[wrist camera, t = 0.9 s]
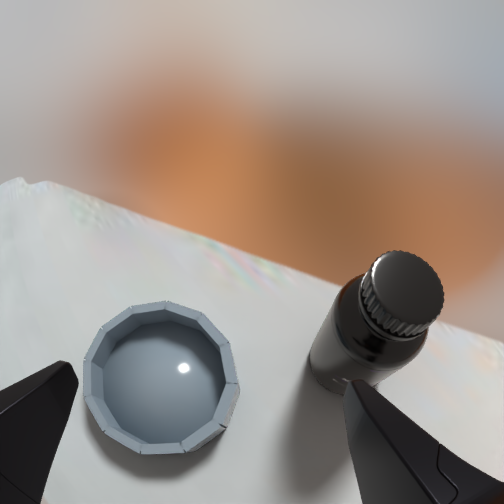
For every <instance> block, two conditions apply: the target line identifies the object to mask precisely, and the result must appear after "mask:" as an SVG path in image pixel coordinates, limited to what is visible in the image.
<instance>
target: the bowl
mask: <svg viewBox="0 0 504 504" xmlns="http://www.w3.org/2000/svg"><path fill="white" fill-rule="evenodd" d="M102 328H103V329H102ZM102 328H100V329H99V331H98V333H97V335H96V337H95V339H94V340H93V342H92V344H91V346H90V348H89V350H88V352H87V354H86V356H85V358H84V359H85V360H84V361H83V396H84V397H85V398H84V399H85V401H86V403H87V405H88V407H89V409H90V411H91V412H92V414H93V416H94V418H95V420H96V421H97V423H98V425H99V427H100V428H101V430H102V432H104V433H105V434H106V435H108V436H109V437H111V438H113V439H114V440H116V441H118V442H119V443H121V444H123V445H124V446H126V447H128V448H130V449H132V450H133V451H135V452H137V453H139V454H172V453H187V452H193V451H196V450H198V449H199V448H201V447H202V446H203V445H205V444H206V443H208V442H209V441H210V440H212V439H213V438H214V437H216V436H217V435H218V434H220V433H221V432H222V431H224V430H225V429H226V428H225V427H227V426H228V423H229V421H230V418H231V415H232V413H233V410H234V407H235V405H236V402H237V399H238V396H239V394H240V391H239V390H240V387H239V383H238V378H237V373H236V369H235V364H234V359H233V354H232V350H231V346H230V343H229V341H228V340H227V339H226V338H225V337H224V335H223V334H222V333H221V332H220V331H219V330H218V329H217V328H216V327H215V326H214V325H213V324H212V322H211V321H210V320H209V319H208V318H207V317H206V316H205V315H204V314H202V312H199V311H196V310H193V309H190V308H187V307H184V306H181V305H178V304H175V303H172V302H169V301H167V302H166V301H161V302H155V303H148V304H142V305H135V306H131V308H130V307H129V308H127V309H126V310H124V311H123V312H121V313H120V314H119V315H117V316H116V317H114V318H113V319H112V320H110V321H109V322H107V323H106V324H104V325H103V326H102ZM224 426H225V427H224Z"/></svg>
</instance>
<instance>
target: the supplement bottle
mask: <svg viewBox="0 0 504 504" xmlns="http://www.w3.org/2000/svg"><path fill="white" fill-rule="evenodd" d="M443 303H444V292H443V286H442V284H441V281H440V279H439V278H438V276H437V273H436V272H435V271H434V270H433V268H432V267H431V266H429V264H428V263H427V262H425V261H424V260H423V259H421V258H420V257H417V256H416V255H415V254H411V253H409V252H403V251H395V250H394V251H392V252H389V251H388V252H387V253H385V254H382V255H381V256H380V257H378V258H377V259H376V260H375V262H374V263H373V264H372V265H371V267H370V269H369V270H368V272H366V273H363V274H361V275H359V276H356V277H354V278H353V279H351V280H350V281H348V282H347V283H346V284H345V285H344V286H343V287H342V289H341V290H340V292H339V293H338V295H337V296H336V298H335V300H334V303H333V305H332V307H331V309H330V311H329V313H328V315H327V316H326V318H325V320H324V322H323V324H322V326H321V328H320V330H319V332H318V334H317V336H316V338H315V340H314V342H313V344H312V347H311V352H310V364H311V368H312V371H313V373H314V375H315V377H316V378H317V380H318V381H319V382H320V383H321V384H322V385H323V386H324V387H325V388H327V389H328V390H330V391H332V392H335V393H338V394H343V395H345V392H346V388H347V385H348V383H349V381H351V380H357V379H363V380H364V381H366V382H367V383H368V384H369V385H370V386H371V387H372V386H374V385H376V384H377V383H379V382H381V381H382V380H384V379H385V378H387V377H389V376H390V375H392V374H393V373H395V372H396V371H398V370H399V369H401V368H402V367H404V366H405V365H407V364H408V363H409V362H411V361H412V360H413V359H414V358H415V357H416V356H417V355H418V354H419V353H420V351H421V350H422V348H423V346H424V344H425V342H426V339H427V335H428V330H429V326H430V325H431V324H432V323H433V322H434V321H435V320H436V318H437V317H438V316H439V315H440V312H441V310H442V308H443Z"/></svg>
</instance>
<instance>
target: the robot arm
mask: <svg viewBox="0 0 504 504" xmlns="http://www.w3.org/2000/svg"><path fill="white" fill-rule="evenodd" d="M78 384H79V382H78V378H77V376H76V374H75V372H74V370H73V367H72V365H71V364H70V363H69V362H65V361H57V362H56V363H54V364H52V365H50V366H48V367H46V368H44V369H42V370H40V371H38V372H36V373H34V374H32V375H30V376H28V377H27V378H25V379H23V380H21V381H19V382H17V383H15V384H13V385H11V386H9V387H7V388H5V389H3V390H1V391H0V504H40V503H41V499H42V496H43V492H44V488H45V485H46V482H47V478H48V475H49V472H50V469H51V466H52V463H53V460H54V457H55V454H56V451H57V448H58V445H59V443H60V440H61V437H62V435H63V432H64V429H65V427H66V424H67V421H68V418H69V415H70V412H71V408H72V405H73V401H74V398H75V395H76V392H77V389H78ZM343 407H344V414H345V421H346V429H347V437H348V444H349V449H350V453H351V457H352V461H353V465H354V469H355V473H356V477H357V482H358V486H359V490H360V494H361V499H362V503H363V504H504V482H501V481H499V480H497V479H495V478H493V477H491V476H489V475H488V474H486V473H484V472H482V471H481V470H479V469H477V468H475V467H474V466H472V465H470V464H469V463H467V462H466V461H464V460H462V459H461V458H459V457H458V456H457V455H455V454H454V453H453V452H451V451H450V450H449V449H447V448H446V447H445V446H443V445H442V444H439V442H438V441H437V440H436V439H435V438H433V437H432V436H431V435H430V434H428V433H427V432H426V431H425V430H423V429H422V428H421V427H420V426H418V425H417V424H416V423H415V422H414V421H412V420H411V419H410V418H409V417H407V416H406V415H405V414H404V413H403V412H401V411H400V410H399V409H398V408H397V407H395V406H394V405H393V404H392V403H391V402H389V401H388V400H387V399H386V398H385V397H383V396H382V395H381V394H380V393H379V392H377V391H376V390H375V389H374V388H373V387H371V386H370V385H369V384H368V383H367V382H366V381H364V380H363V379H357V380H351V381H349V383H348V385H347V388H346V392H345V395H344V398H343Z"/></svg>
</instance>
